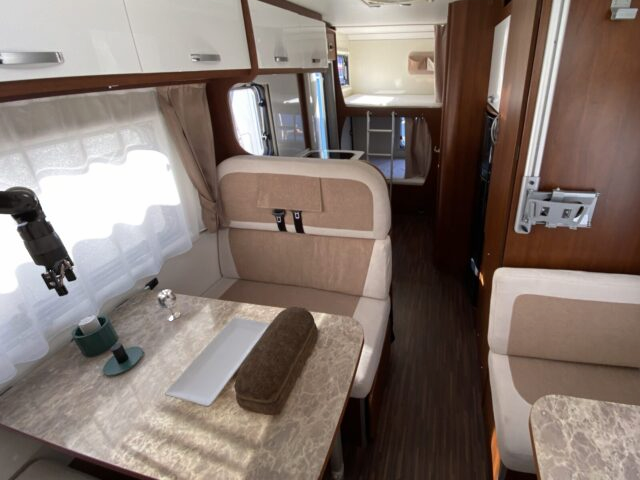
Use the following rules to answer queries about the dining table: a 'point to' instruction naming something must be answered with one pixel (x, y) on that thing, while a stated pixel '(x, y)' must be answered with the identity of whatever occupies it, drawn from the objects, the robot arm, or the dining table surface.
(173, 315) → the wineglass
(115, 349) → the lid
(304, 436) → the dining table surface
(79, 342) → the pot
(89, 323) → the beverage can
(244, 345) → the tray
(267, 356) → the bread
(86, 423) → the dining table surface
